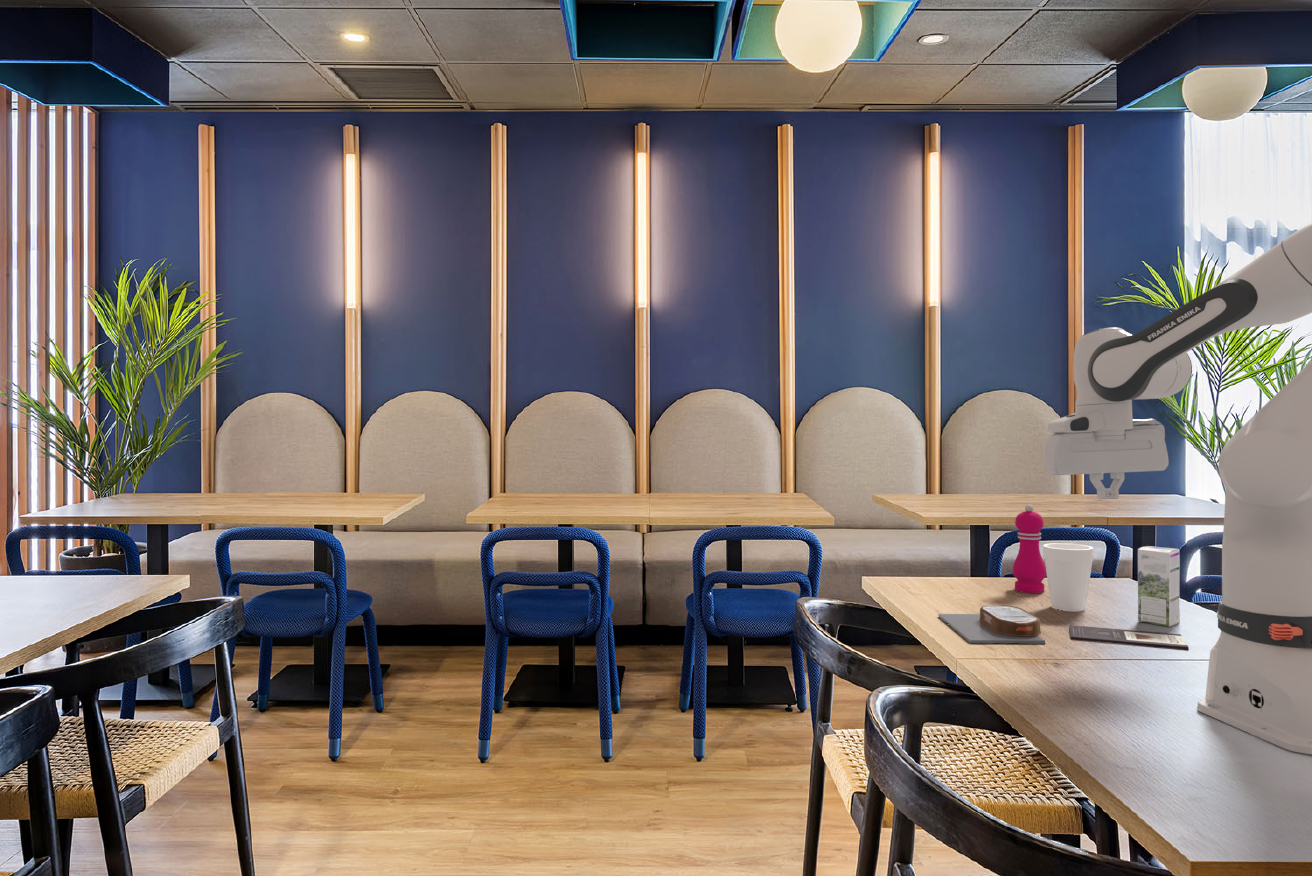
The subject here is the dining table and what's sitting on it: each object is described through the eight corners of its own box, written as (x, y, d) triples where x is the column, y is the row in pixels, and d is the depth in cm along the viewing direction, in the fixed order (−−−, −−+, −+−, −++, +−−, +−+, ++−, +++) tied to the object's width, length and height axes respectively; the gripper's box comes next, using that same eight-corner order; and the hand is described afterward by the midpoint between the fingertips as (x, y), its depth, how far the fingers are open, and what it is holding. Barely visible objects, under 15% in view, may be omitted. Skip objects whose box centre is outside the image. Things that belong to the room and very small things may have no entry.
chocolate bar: (1069, 625, 156) (1180, 634, 149) (1069, 630, 156) (1180, 639, 149) (1070, 636, 148) (1188, 647, 141) (1070, 642, 148) (1188, 652, 141)
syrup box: (1180, 622, 159) (1180, 548, 159) (1169, 627, 156) (1169, 551, 155) (1148, 617, 164) (1148, 544, 163) (1136, 622, 160) (1136, 548, 160)
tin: (1015, 617, 163) (972, 619, 163) (1014, 601, 163) (971, 604, 163) (1049, 637, 148) (1001, 640, 148) (1048, 619, 148) (1000, 622, 148)
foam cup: (1098, 614, 167) (1098, 550, 166) (1048, 612, 169) (1048, 549, 169) (1086, 604, 176) (1086, 543, 175) (1039, 602, 178) (1039, 542, 178)
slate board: (1045, 644, 145) (1045, 640, 145) (970, 643, 146) (970, 640, 146) (1004, 617, 165) (1004, 614, 165) (938, 616, 166) (938, 614, 166)
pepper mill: (1006, 588, 193) (1005, 503, 193) (1033, 586, 195) (1033, 502, 194) (1025, 594, 186) (1024, 506, 186) (1053, 592, 187) (1053, 505, 187)
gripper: (1153, 418, 148) (1157, 495, 148) (1038, 424, 149) (1042, 500, 149) (1174, 417, 142) (1178, 497, 142) (1054, 423, 143) (1058, 502, 143)
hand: (1108, 498), depth 145 cm, fingers closed
